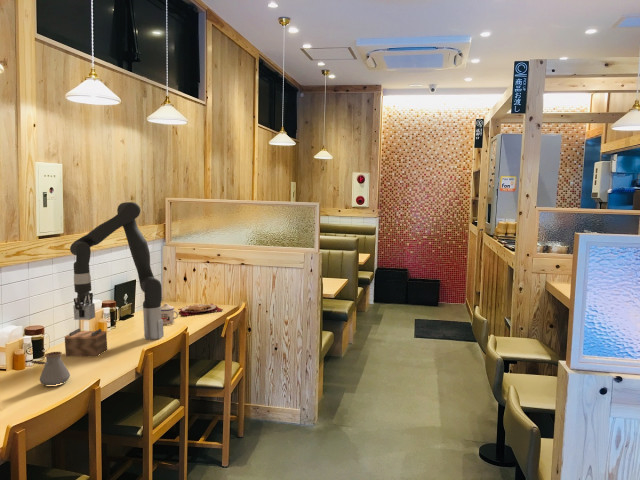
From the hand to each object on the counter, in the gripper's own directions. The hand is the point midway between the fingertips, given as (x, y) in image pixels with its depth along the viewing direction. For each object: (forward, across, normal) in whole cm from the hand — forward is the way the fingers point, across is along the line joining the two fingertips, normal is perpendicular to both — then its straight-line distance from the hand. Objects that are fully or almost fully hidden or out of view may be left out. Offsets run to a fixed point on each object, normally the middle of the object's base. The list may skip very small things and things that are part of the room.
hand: (84, 315), depth 252 cm
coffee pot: (+19, -44, -8) cm, 49 cm away
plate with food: (+20, +89, -28) cm, 96 cm away
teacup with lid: (+20, +58, -20) cm, 64 cm away
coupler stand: (+19, 0, 0) cm, 19 cm away
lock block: (+1, 0, 0) cm, 1 cm away
